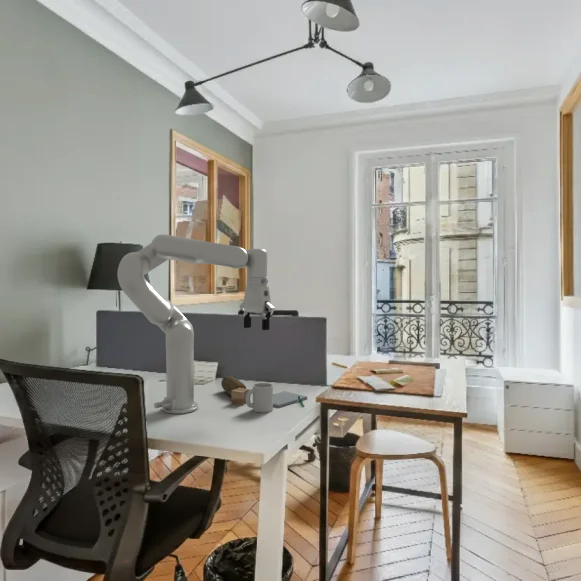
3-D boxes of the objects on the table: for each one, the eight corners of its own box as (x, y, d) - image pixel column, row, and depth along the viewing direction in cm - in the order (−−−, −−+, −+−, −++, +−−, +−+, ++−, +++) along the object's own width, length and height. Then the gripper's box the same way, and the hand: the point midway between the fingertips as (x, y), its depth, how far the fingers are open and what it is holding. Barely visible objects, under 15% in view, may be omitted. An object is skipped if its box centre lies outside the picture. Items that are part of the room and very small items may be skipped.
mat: (278, 407, 166) (278, 405, 166) (255, 401, 174) (255, 399, 174) (307, 399, 178) (307, 396, 178) (284, 393, 186) (284, 391, 186)
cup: (275, 411, 161) (276, 386, 161) (248, 414, 157) (248, 389, 157) (268, 406, 168) (269, 382, 168) (242, 409, 164) (242, 384, 164)
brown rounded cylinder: (218, 392, 188) (218, 376, 188) (233, 389, 192) (233, 374, 192) (233, 400, 176) (233, 383, 176) (249, 398, 180) (249, 381, 179)
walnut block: (242, 405, 169) (242, 392, 169) (231, 403, 171) (231, 390, 171) (250, 402, 173) (250, 389, 173) (238, 400, 176) (238, 387, 175)
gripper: (280, 282, 165) (280, 330, 166) (248, 282, 177) (247, 326, 177) (266, 282, 160) (265, 331, 160) (233, 282, 171) (233, 327, 172)
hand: (256, 328), depth 169 cm, fingers open, 9 cm apart
